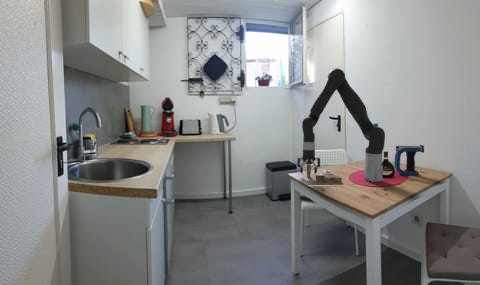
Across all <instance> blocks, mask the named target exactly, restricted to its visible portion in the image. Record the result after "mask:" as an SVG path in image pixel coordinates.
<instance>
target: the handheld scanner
mask: <svg viewBox="0 0 480 285" xmlns="http://www.w3.org/2000/svg"><path fill="white" fill-rule="evenodd" d="M395 151H396V152H395V153H394V169H395V171H397V173H398V174H401V175H403V176H419V175H420V172H419V171H418V170H416V169H415V168H416V160H415V157H416V155H417V153H420V152H421V153H425V146H424V145H423V144H419V145H407V144H405V145H403V144H402V145H400V144H399V145H395ZM403 153H405V156H406V162H405V163H406V166H405V167H406V168H405V170H404V169H402V168H401V156H402V154H403Z"/></svg>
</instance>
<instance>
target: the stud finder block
mask: <svg viewBox="0 0 480 285" xmlns="http://www.w3.org/2000/svg"><path fill="white" fill-rule="evenodd" d="M322 174H323V175H334V172H332V170H322Z"/></svg>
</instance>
